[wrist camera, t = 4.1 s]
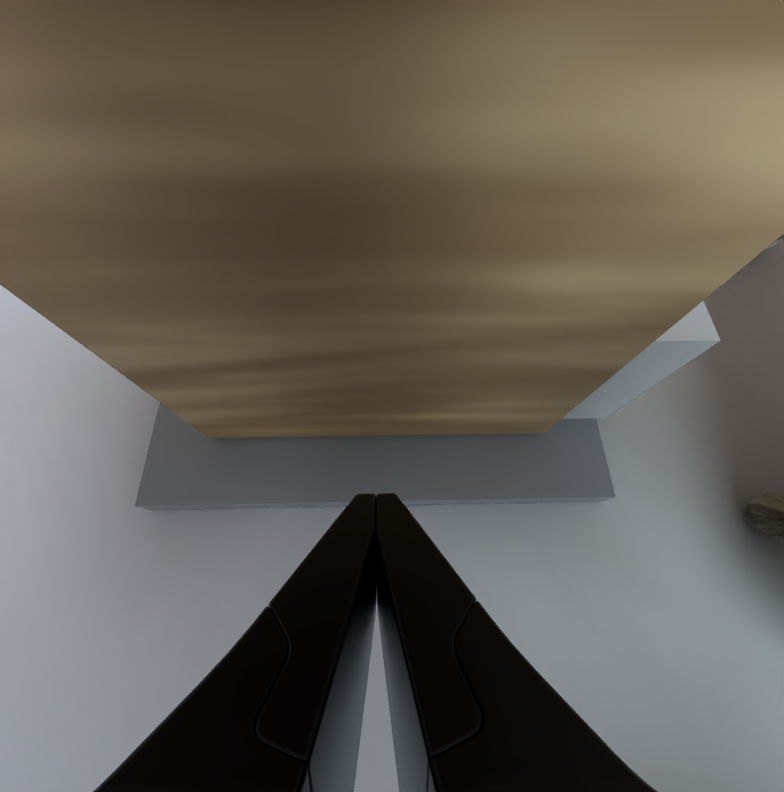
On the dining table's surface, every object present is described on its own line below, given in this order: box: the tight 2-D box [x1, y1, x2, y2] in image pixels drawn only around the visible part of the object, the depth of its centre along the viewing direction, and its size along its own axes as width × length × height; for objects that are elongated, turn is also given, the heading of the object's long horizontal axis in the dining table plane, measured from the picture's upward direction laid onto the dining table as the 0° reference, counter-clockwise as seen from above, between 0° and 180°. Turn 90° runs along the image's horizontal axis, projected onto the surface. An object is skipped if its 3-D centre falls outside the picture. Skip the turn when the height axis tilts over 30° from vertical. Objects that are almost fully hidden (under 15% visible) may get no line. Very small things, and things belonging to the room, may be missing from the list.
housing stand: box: [135, 301, 721, 510], centre depth 15 cm, size 16×18×7 cm
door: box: [0, 0, 784, 438], centre depth 9 cm, size 1×13×13 cm, turn 91°
